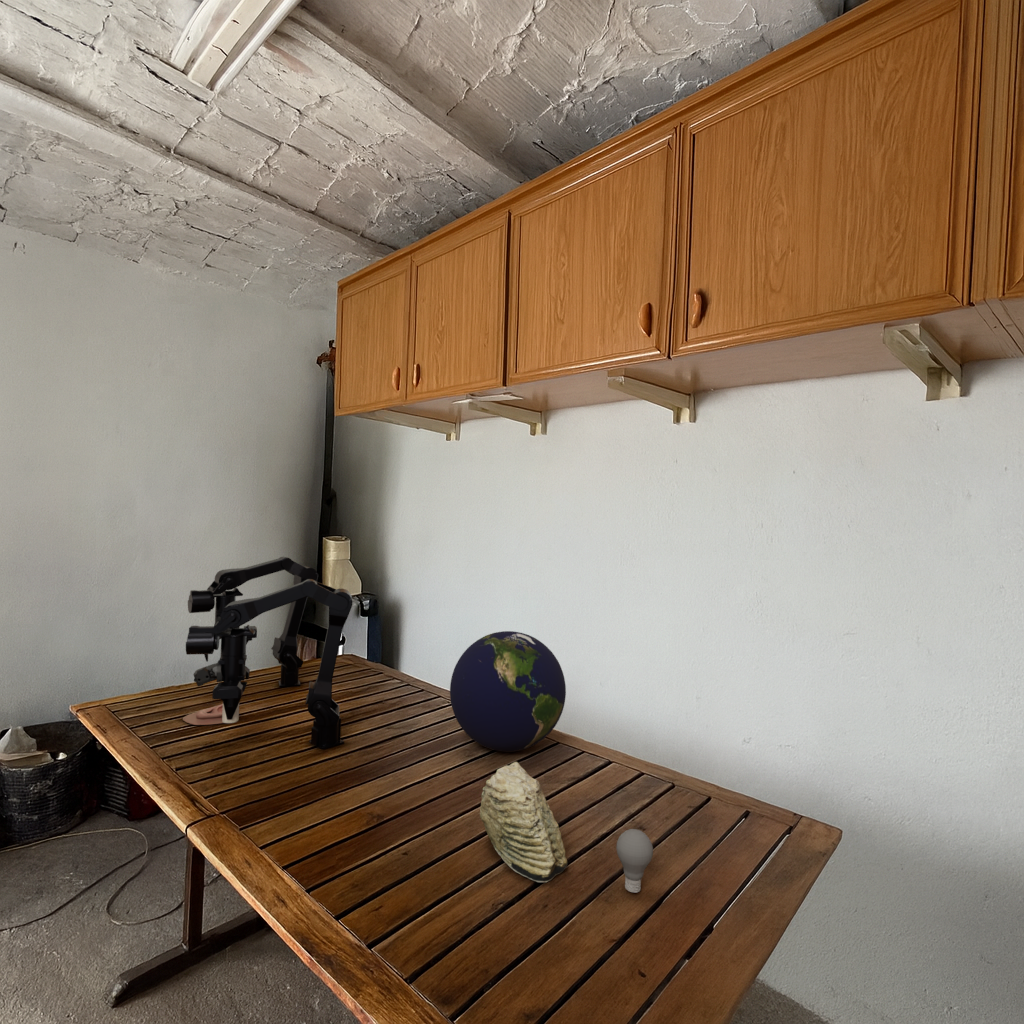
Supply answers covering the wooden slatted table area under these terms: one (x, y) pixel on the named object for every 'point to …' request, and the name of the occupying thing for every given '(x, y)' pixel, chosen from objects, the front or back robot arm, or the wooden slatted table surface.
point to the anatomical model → (206, 716)
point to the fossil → (522, 824)
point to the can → (235, 717)
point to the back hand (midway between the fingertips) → (223, 660)
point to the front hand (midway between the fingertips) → (230, 716)
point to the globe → (507, 691)
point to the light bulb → (634, 857)
